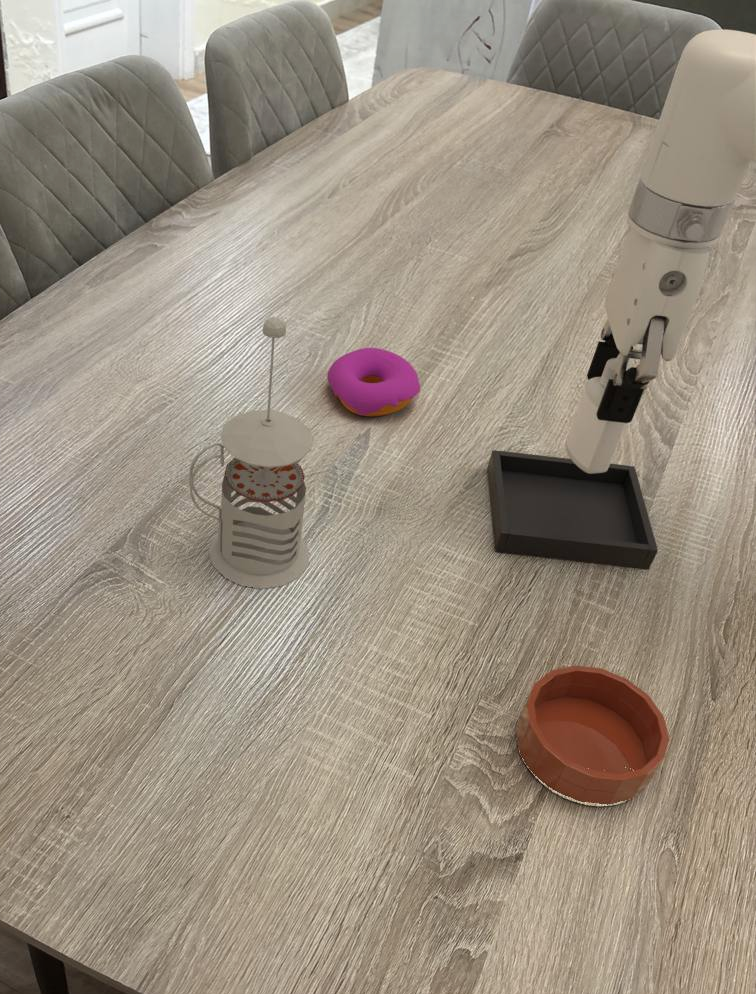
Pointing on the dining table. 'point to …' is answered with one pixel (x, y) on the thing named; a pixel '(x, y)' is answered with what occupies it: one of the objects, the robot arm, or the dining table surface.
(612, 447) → the eye dropper bottle
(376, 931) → the dining table surface
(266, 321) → the french press
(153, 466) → the dining table surface
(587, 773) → the bowl
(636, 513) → the tray
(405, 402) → the donut
